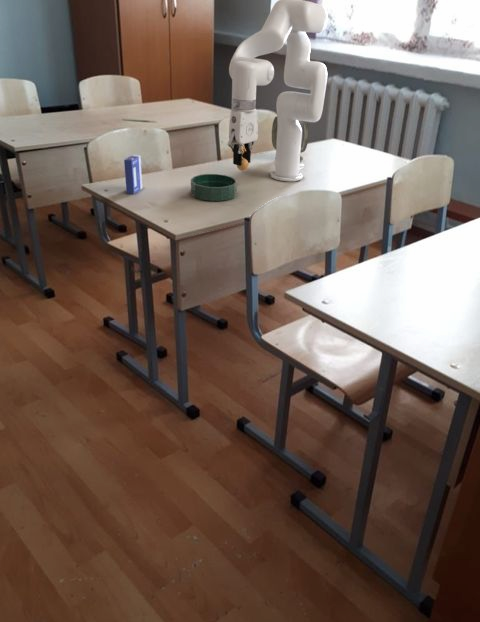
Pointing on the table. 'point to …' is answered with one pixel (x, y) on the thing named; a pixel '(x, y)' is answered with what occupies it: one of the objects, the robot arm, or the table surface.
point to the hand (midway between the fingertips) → (241, 162)
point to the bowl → (213, 187)
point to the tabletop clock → (304, 134)
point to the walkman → (133, 174)
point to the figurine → (244, 161)
